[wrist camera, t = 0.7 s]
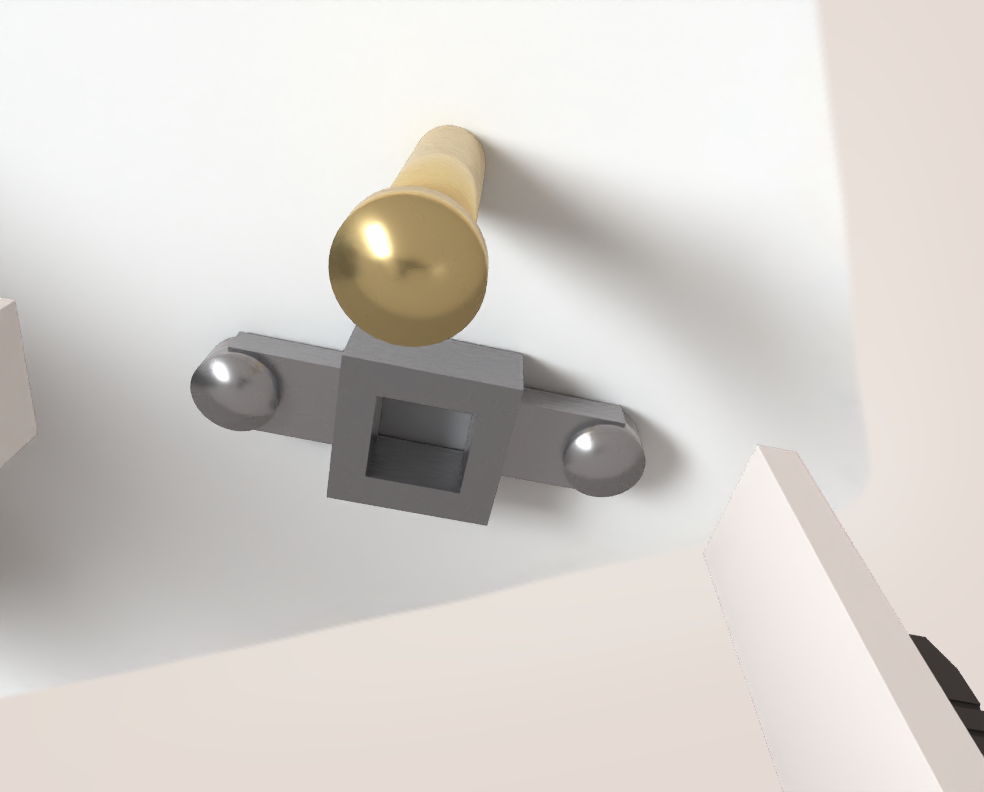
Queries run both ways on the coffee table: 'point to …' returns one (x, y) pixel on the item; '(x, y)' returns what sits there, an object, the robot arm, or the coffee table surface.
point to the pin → (417, 246)
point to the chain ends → (428, 381)
